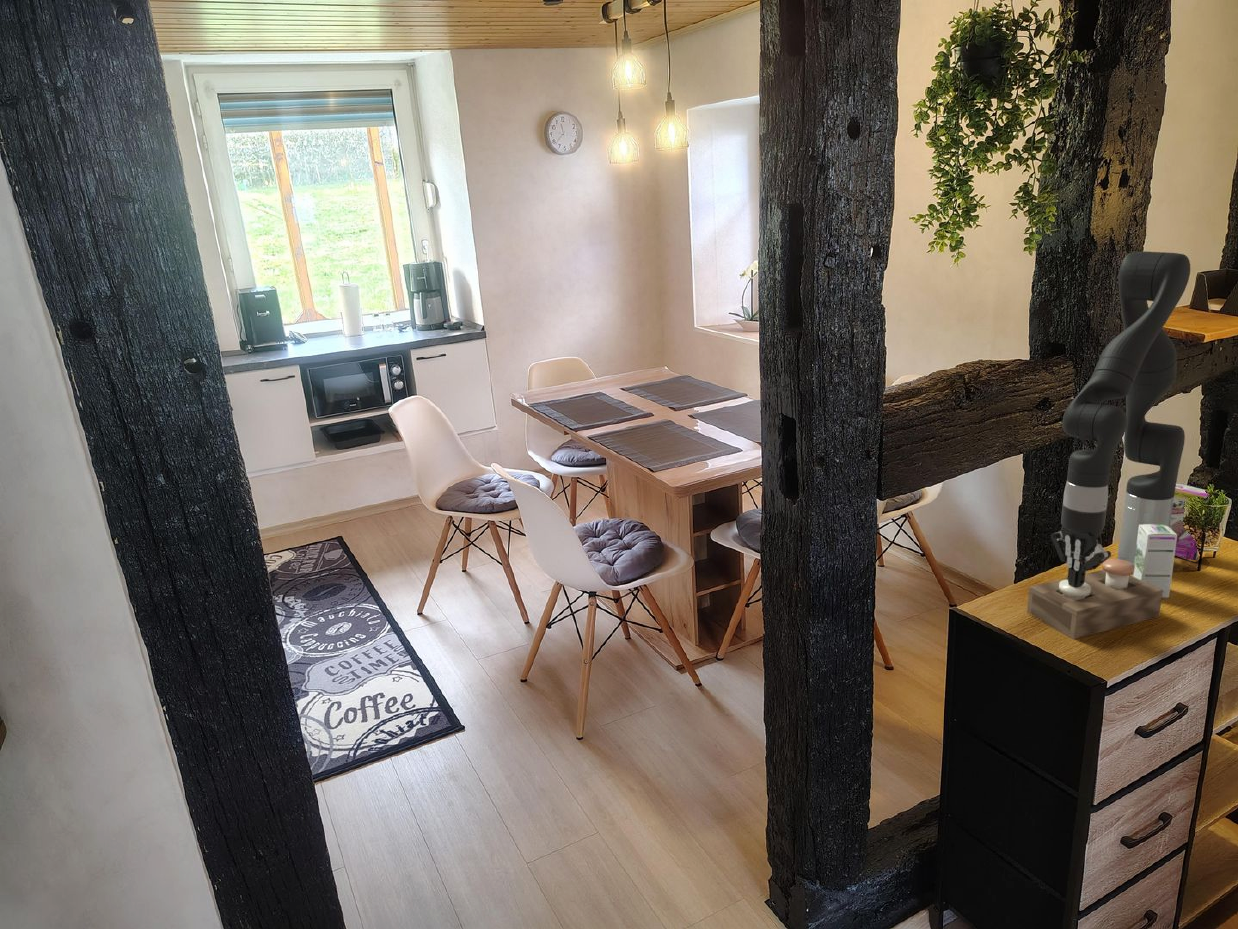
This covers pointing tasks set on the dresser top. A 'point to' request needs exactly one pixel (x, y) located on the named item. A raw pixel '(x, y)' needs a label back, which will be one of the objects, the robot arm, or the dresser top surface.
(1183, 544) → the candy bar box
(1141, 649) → the dresser top surface
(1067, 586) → the cream knob
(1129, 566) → the terracotta knob
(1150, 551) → the syrup box
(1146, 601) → the brown wooden block
